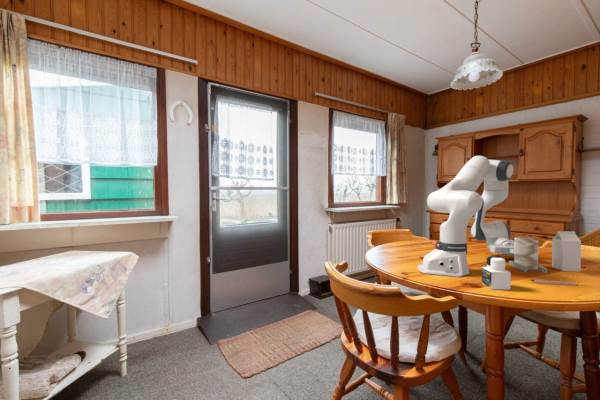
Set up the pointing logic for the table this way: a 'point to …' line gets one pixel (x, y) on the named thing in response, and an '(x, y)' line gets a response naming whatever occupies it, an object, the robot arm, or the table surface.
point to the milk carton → (566, 251)
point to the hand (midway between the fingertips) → (520, 252)
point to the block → (526, 252)
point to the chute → (543, 272)
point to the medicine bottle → (496, 274)
